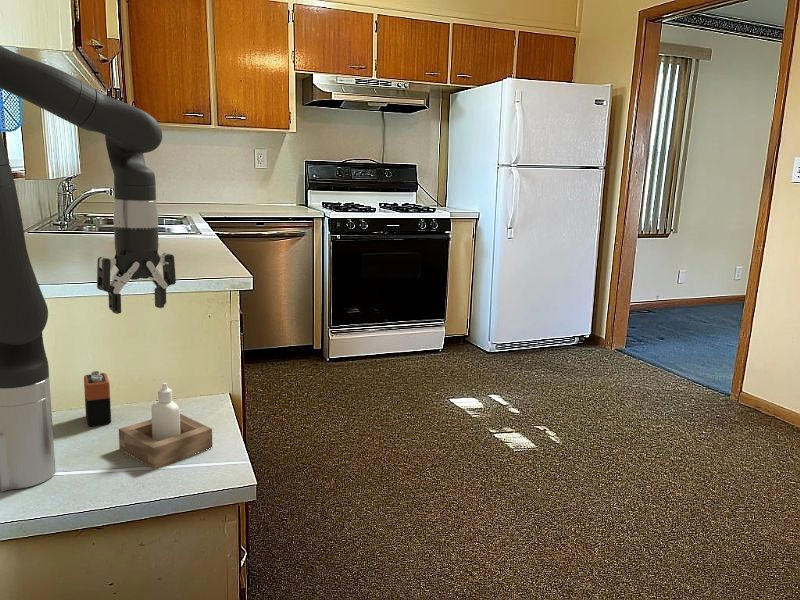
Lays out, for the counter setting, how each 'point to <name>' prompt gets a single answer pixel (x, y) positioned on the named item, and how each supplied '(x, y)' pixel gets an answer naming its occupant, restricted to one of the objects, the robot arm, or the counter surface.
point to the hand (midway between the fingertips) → (138, 310)
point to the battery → (97, 399)
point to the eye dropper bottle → (165, 415)
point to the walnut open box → (164, 442)
